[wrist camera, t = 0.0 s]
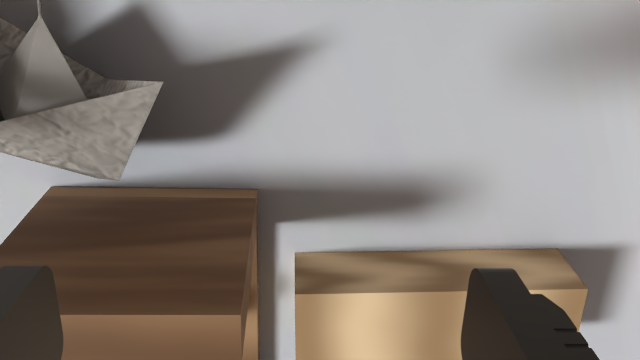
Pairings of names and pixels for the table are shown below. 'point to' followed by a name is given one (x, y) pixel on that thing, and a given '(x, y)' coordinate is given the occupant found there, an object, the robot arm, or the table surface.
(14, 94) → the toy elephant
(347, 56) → the table surface
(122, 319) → the peg rack
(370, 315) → the shelf board
